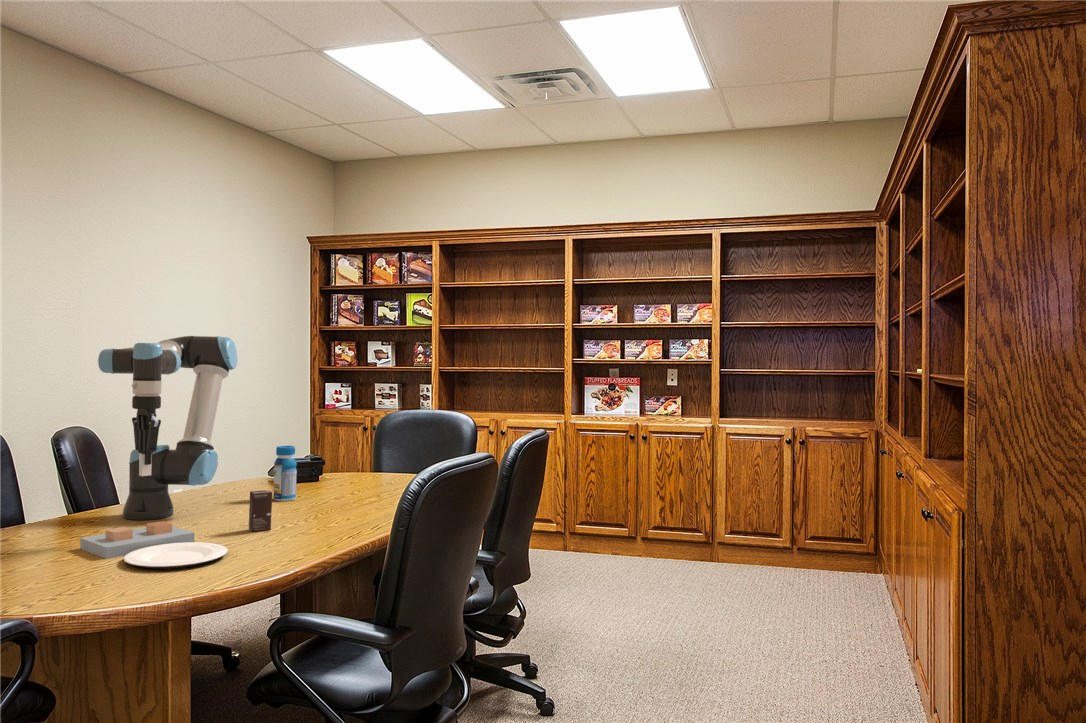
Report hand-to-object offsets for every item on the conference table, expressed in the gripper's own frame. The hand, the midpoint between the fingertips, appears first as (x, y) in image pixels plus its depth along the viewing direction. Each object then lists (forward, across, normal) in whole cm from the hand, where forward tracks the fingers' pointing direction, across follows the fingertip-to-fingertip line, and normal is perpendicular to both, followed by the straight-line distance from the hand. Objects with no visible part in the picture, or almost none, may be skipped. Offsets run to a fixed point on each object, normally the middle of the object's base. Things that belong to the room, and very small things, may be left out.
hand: (145, 475), depth 227 cm
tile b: (+15, +9, -11) cm, 21 cm away
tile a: (+15, +9, 0) cm, 18 cm away
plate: (+19, +30, -6) cm, 36 cm away
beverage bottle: (+19, -24, +64) cm, 70 cm away
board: (+18, +8, -6) cm, 21 cm away
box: (+19, +15, +28) cm, 37 cm away
